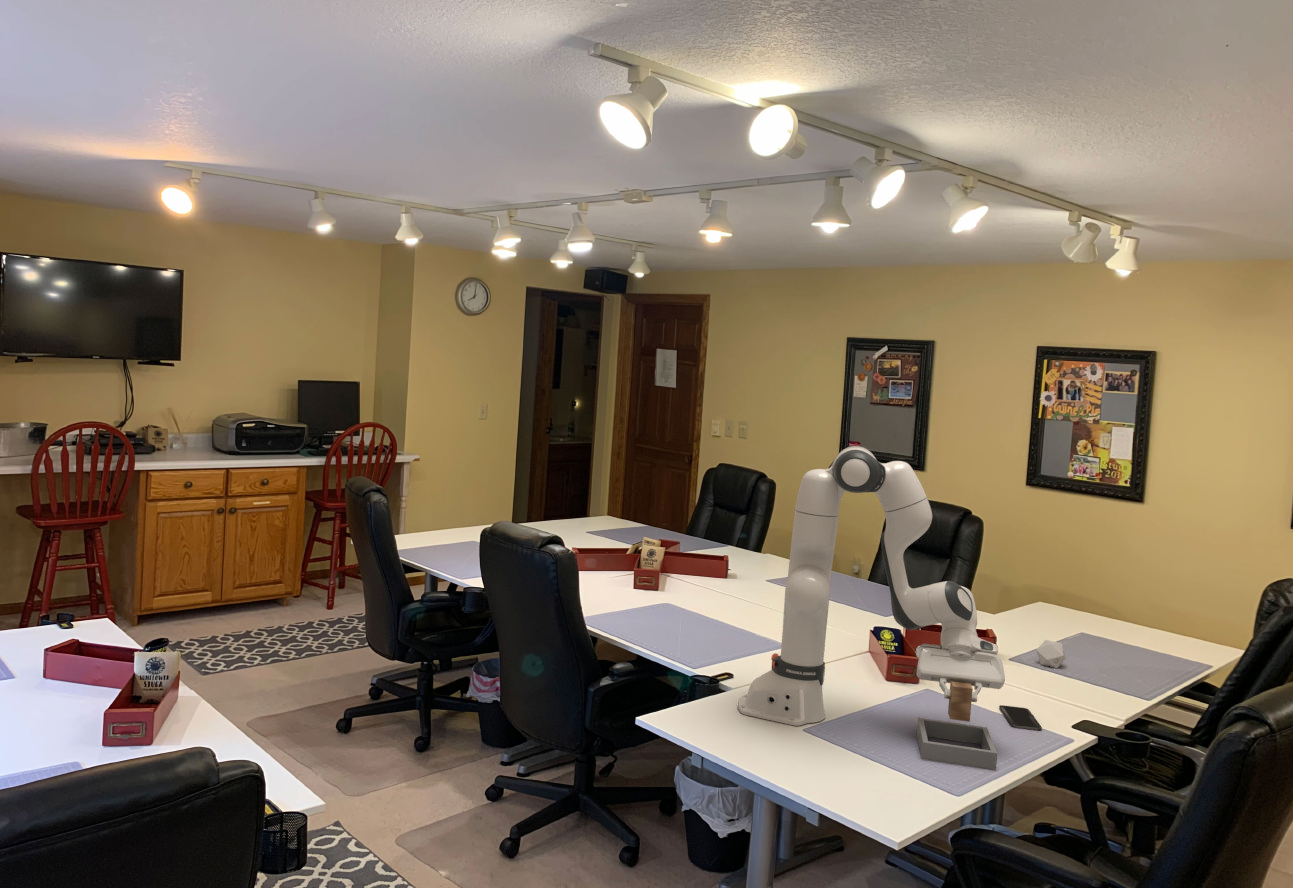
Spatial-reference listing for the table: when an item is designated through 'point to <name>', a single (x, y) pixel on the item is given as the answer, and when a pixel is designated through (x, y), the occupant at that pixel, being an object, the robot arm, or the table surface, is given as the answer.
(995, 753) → the box
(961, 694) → the walnut block
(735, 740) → the table surface
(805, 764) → the table surface
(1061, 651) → the die
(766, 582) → the table surface
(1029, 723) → the phone
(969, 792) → the table surface
